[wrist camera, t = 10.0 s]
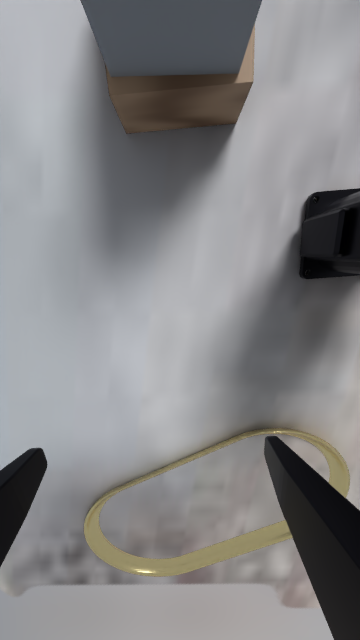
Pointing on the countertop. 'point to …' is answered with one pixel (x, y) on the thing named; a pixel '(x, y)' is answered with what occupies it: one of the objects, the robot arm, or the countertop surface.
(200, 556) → the yellow oval loop
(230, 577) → the countertop surface
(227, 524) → the countertop surface
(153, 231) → the countertop surface
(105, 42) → the tower top
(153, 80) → the tower base
